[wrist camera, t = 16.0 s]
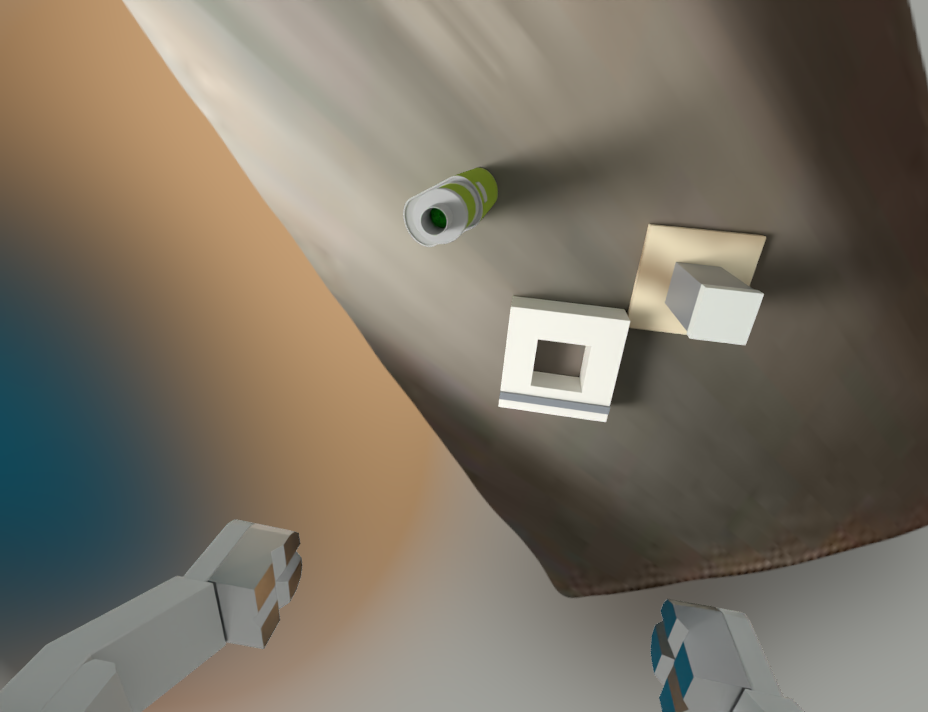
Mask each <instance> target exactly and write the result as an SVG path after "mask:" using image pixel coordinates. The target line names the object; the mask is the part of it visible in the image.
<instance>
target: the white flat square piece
mask: <svg viewBox="0 0 928 712" xmlns="http://www.w3.org/2000/svg"><path fill="white" fill-rule="evenodd" d="M629 325H630V319H629V317H628V315H627V313H626V311H625V309H619V308H610V307H602V306H593V305H585V304H576V303H568V302H560V301H551V300H543V299H534V298H526V297H518V296H513V299H512V304H511V311H510V319H509V327H508V335H507V343H506V351H505V359H504V367H503V375H502V383H501V391H500V398H499V407H505V408H512V409H518V410H525V411H532V412H539V413H546V414H553V415H560V416H567V417H574V418H581V419H588V420H595V421H602V422H606V419H607V415H608V414H609V410H610V403H611V399H612V395H613V391H614V386H615V382H616V378H617V374H618V370H619V366H620V362H621V358H622V353H623V349H624V345H625V341H626V337H627V333H628V329H629ZM538 339H539V340H547V341H555V342H563V343H571V344H578V345H586V347H585V352H584V357H583V362H582V367H581V372H580V377H573V376H565V375H558V374H551V373H543V372H536V371H533V367H534V361H535V354H536V348H537V342H538Z"/></svg>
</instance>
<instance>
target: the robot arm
mask: <svg viewBox="0 0 928 712" xmlns="http://www.w3.org/2000/svg"><path fill="white" fill-rule="evenodd" d="M299 545H300V538H299V533H297V532H294V531H289V530H285V529H280V528H275V527H271V526H266V525H261V524H256V523H251V522H245V521H240V520H236V519H235V520H233V521H232V522H230V523H228V524H227V525H226V526H225V528H224V529H223V530H222V531H221V532H220V533H219V535H218V536H217V537H216V538H215V540H214V541H213V542H212V543H211V544H210V546H209V547H208V548H207V549H206V550H205V551H204V553H203V554H202V555H201V556H200V557H199V559H198V560H197V561H196V562H195V563H194V564H193V566H192V567H191V568H190V569H189V570H188V572H187V573H186V574H185V575H184V576H183V577H180V576H176V577H174V578H172V579H170V580H168V581H166V582H164V583H162V584H161V585H159V586H157V587H155V588H153V589H151V590H150V591H147V592H146V593H144V594H142V595H140V596H138V597H136V598H134V599H132V600H130V601H128V602H126V603H125V604H123V605H121V606H119V607H117V608H115V609H113V610H111V611H109V612H107V613H106V614H104V615H102V616H100V617H98V618H96V619H94V620H92V621H91V622H89V623H87V624H85V625H83V626H81V627H79V628H77V629H75V630H73V631H72V632H70V633H68V634H66V635H64V636H62V637H60V638H58V639H56V640H55V641H53V642H51V643H49V644H47V645H46V646H45V647H44V648H43V649H42V650H41V651H40V652H39V653H38V654H37V655H36V656H35V657H34V658H33V659H32V660H31V661H30V662H29V663H28V664H27V665H26V666H25V667H24V668H23V669H22V670H21V671H20V672H19V673H18V674H17V675H16V676H15V677H14V678H13V679H12V680H11V681H10V682H9V683H8V684H7V685H6V686H5V687H4V688H3V689H2V690H1V691H0V712H142V711H143V710H144V709H145V708H147V707H148V706H149V705H150V704H152V703H153V702H154V701H155V700H157V699H158V698H159V697H161V696H162V695H163V694H164V693H165V692H167V691H168V690H169V689H171V688H172V687H173V686H174V685H176V684H177V683H178V682H180V681H181V680H182V679H183V678H185V677H186V676H187V675H188V674H190V673H191V672H192V671H193V670H195V669H196V668H197V667H198V666H199V665H201V664H202V663H203V662H205V661H206V660H207V659H209V658H210V657H211V656H212V655H214V654H215V653H216V652H217V651H219V650H220V649H221V648H222V647H224V646H225V645H226V642H228V643H234V644H240V645H245V646H250V647H256V648H262V649H264V648H265V646H266V644H267V643H268V641H269V639H270V637H271V635H272V633H273V632H274V630H275V628H276V626H277V625H278V623H279V621H280V615H279V609H280V608H281V607H283V606H284V605H286V604H287V603H289V602H290V601H291V599H292V597H293V596H294V594H295V592H296V590H297V587H298V584H299V581H300V578H301V571H302V558H301V557H300V555H299V554H298V553H297V552H296V550H297V548H298V547H299ZM661 615H662V619H663V621H661V622H659V623H658V624H656V625H655V627H654V630H653V633H652V636H651V660H652V666H653V671H654V675H655V676H656V677H657V679H658V680H659V681H660V682H661V684H662V685H663V686H664V687H663V689H662V692H661V694H660V696H659V700H660V704H661V709H662V712H805V711H804V710H803V709H802V708H801V707H800V706H799V705H798V704H797V703H796V702H795V701H794V700H793V699H792V698H788V697H784V696H783V694H782V692H781V689H780V687H779V685H778V683H777V680H776V678H775V676H774V674H773V672H772V669H771V667H770V665H769V663H768V660H767V658H766V656H765V653H764V651H763V649H762V647H761V645H760V642H759V640H758V638H757V636H756V633H755V631H754V629H753V627H752V624H751V622H750V620H749V618H748V617H747V616H746V615H745V613H743V612H738V611H732V610H726V609H721V608H715V607H711V606H706V605H700V604H694V603H688V602H682V601H677V600H670V599H667V600H666V601H665V602H664V603H663V606H662V608H661Z"/></svg>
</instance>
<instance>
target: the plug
mask: <svg viewBox="0 0 928 712" xmlns="http://www.w3.org/2000/svg"><path fill="white" fill-rule="evenodd" d="M763 296H764V294H763V293H762V292H760V291H759V290H754V289H753V288H751V287H750V286H748V285H747V284H745V283H744V282H742V281H741V280H739V279H738V278H736V277H735V276H734V275H732V274H731V273H729V272H728V271H726V270H725V269H723V268H722V267H718V266H709V265H700V264H691V263H681V262H676V263H675V267H674V270H673V274H672V278H671V282H670V285H669V289H668V293H667V296H666V300H665V304H666V305H667V306H668V308H669V309H670V310H671V312H672V313H673V314H674V315H675V317H676V318H677V319H678V321H679V322H680V323H681V324H682V326H683V327H684V328H685V330H686V331H687V335H688V337H689V338H690V339H698V340H707V341H715V342H723V343H731V344H739V345H746V342H747V340H748V337H749V334H750V331H751V329H752V326H753V323H754V320H755V318H756V315H757V312H758V309H759V307H760V304H761V301H762V298H763Z"/></svg>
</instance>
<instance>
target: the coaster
mask: <svg viewBox="0 0 928 712" xmlns="http://www.w3.org/2000/svg"><path fill="white" fill-rule="evenodd" d="M765 240H766V236H763V235H756V234H745V233H735V232H725V231H715V230H705V229H695V228H685V227H675V226H665V225H655V224H649V226H648V230H647V234H646V238H645V242H644V247H643V251H642V255H641V259H640V263H639V268H638V272H637V276H636V280H635V284H634V289H633V293H632V297H631V301H630V305H629V310H628V314H627V315H628V317H629V319H630V325H629V328H636V329H644V330H652V331H660V332H668V333H676V334H685V335H687V331H686V330H685V328H684V327H683V326H682V324H681V323H680V322H679V321H678V319H677V318H676V317H675V315H674V314H673V313H672V312H671V310H670V309H669V308H668V306H667V305H666V304H665V300H666V296H667V293H668V289H669V285H670V282H671V278H672V274H673V270H674V267H675V263H676V262H681V263H691V264H700V265H709V266H718V267H722V268H723V269H725V270H726V271H728V272H729V273H731V274H732V275H734V276H735V277H736V278H738V279H739V280H741V281H742V282H744V283H745V284H747V285H748V286H750V283H751V280H752V277H753V274H754V271H755V269H756V266H757V263H758V260H759V257H760V254H761V251H762V248H763V245H764V243H765Z"/></svg>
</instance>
